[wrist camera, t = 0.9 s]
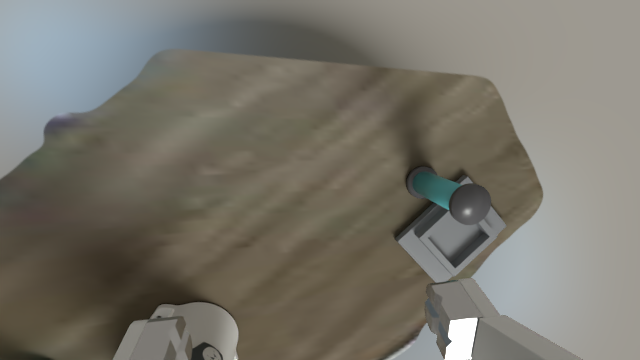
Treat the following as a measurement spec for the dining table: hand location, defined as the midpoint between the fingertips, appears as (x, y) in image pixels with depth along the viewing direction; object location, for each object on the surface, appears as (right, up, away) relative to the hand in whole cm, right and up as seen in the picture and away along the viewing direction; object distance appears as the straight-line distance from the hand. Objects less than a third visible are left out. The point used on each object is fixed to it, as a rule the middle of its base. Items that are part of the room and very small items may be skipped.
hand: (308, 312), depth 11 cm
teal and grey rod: (+19, +4, +52) cm, 56 cm away
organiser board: (+26, -6, +55) cm, 61 cm away
